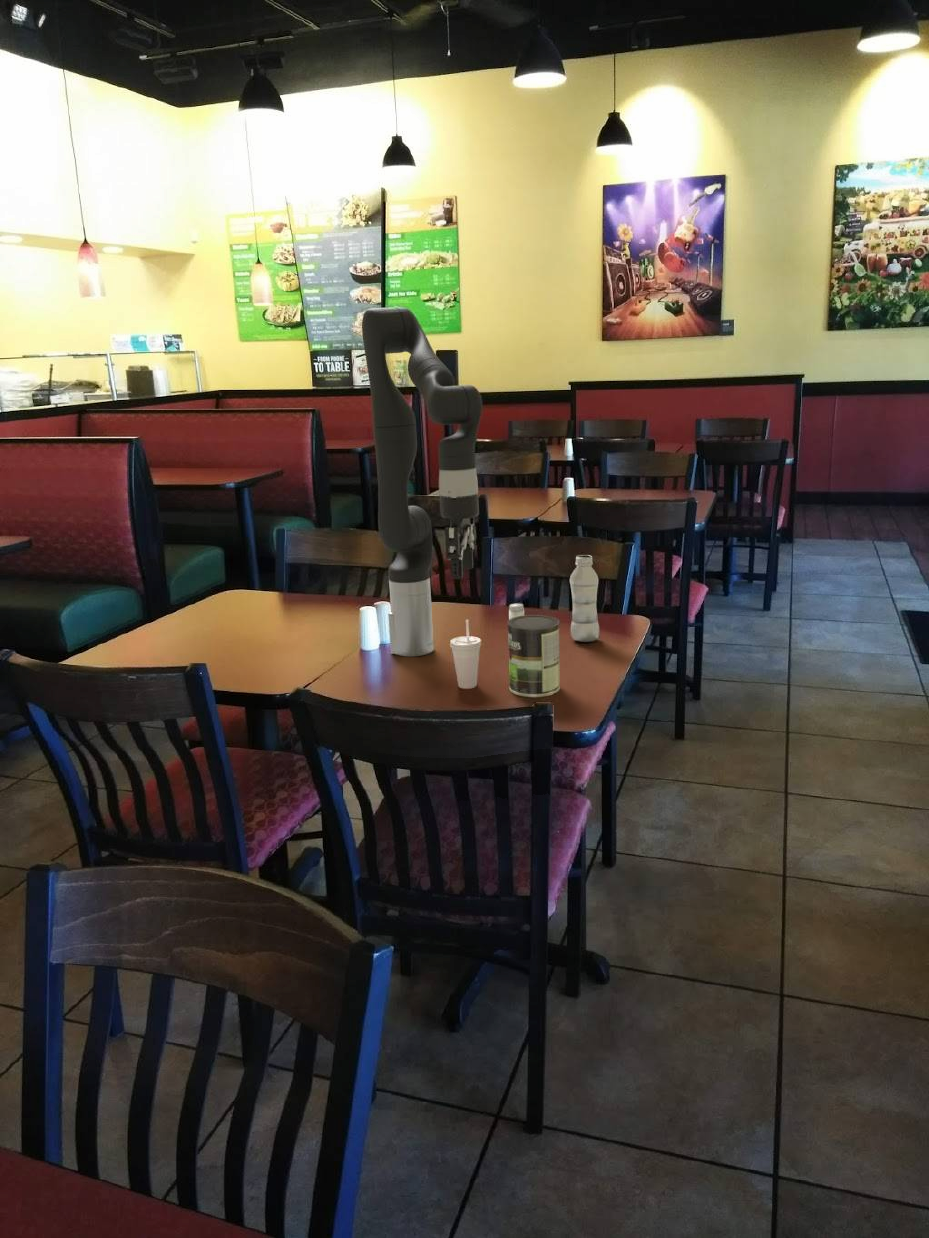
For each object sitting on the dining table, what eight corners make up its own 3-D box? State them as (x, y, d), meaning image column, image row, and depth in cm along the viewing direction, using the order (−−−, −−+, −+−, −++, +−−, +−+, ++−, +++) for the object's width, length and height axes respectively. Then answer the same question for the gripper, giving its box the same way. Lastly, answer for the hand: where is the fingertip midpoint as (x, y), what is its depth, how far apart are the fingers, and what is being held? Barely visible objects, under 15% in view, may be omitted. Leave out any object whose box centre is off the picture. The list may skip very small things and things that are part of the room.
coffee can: (517, 700, 182) (515, 631, 178) (503, 683, 192) (500, 617, 188) (567, 694, 184) (566, 625, 180) (550, 677, 194) (549, 612, 190)
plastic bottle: (592, 646, 213) (591, 560, 207) (565, 642, 216) (564, 558, 211) (604, 638, 218) (603, 555, 212) (577, 635, 221) (576, 552, 216)
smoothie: (479, 691, 188) (477, 624, 184) (448, 690, 189) (445, 624, 185) (485, 680, 194) (483, 615, 190) (455, 679, 195) (452, 615, 191)
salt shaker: (508, 640, 220) (507, 607, 218) (511, 636, 223) (510, 603, 221) (523, 641, 219) (522, 607, 217) (526, 636, 222) (525, 603, 220)
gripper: (449, 487, 188) (453, 565, 192) (429, 497, 175) (434, 582, 179) (485, 486, 186) (488, 565, 191) (468, 497, 173) (472, 582, 177)
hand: (462, 573), depth 185 cm, fingers open, 8 cm apart
